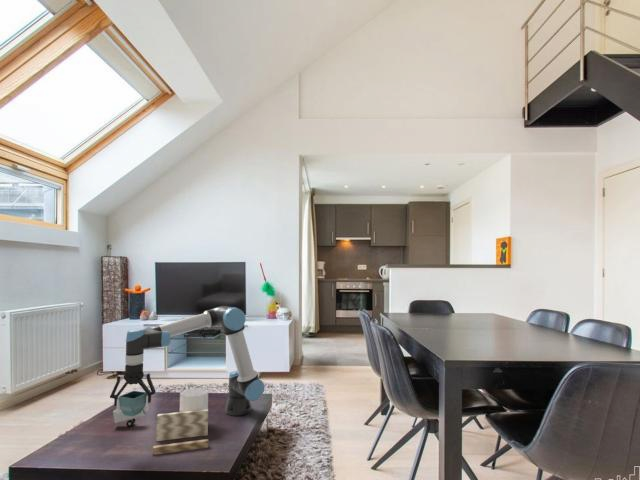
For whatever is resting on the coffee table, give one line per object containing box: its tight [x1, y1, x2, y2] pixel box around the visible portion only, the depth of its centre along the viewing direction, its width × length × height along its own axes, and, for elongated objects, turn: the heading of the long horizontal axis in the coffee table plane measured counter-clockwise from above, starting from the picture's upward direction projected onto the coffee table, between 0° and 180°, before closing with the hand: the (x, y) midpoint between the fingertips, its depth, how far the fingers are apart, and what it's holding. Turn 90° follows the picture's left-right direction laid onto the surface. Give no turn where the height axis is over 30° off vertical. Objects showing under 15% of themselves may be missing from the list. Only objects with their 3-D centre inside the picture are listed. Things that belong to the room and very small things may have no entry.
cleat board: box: [152, 408, 209, 456], centre depth 183 cm, size 24×16×12 cm, turn 107°
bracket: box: [112, 408, 147, 428], centre depth 202 cm, size 4×10×15 cm
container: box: [179, 387, 209, 412], centre depth 202 cm, size 14×14×18 cm
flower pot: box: [118, 390, 147, 417], centre depth 175 cm, size 9×9×9 cm
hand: (132, 411), depth 175 cm, fingers closed on flower pot, 11 cm apart
